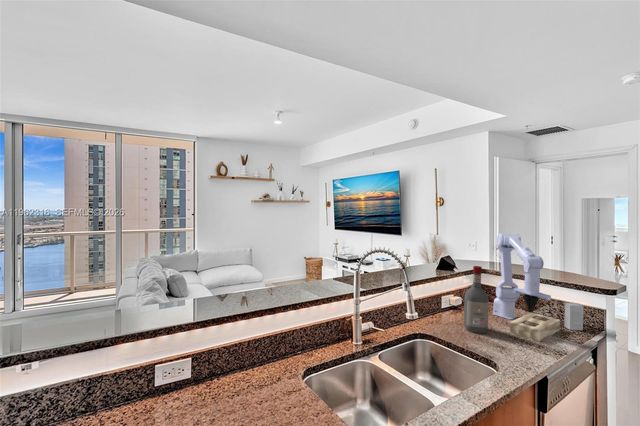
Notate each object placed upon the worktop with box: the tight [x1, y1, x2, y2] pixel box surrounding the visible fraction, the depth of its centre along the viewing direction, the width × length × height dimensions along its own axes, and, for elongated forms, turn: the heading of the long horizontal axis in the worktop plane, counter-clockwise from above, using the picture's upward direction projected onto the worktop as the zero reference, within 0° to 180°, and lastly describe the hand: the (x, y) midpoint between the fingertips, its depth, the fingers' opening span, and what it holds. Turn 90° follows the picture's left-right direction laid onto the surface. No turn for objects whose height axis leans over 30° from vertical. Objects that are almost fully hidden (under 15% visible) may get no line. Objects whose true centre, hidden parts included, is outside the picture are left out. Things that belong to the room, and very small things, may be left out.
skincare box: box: [563, 302, 584, 331], centre depth 152 cm, size 6×4×12 cm
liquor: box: [463, 265, 490, 334], centre depth 149 cm, size 9×9×30 cm
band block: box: [509, 312, 561, 343], centre depth 148 cm, size 12×24×5 cm, turn 126°
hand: (530, 311), depth 145 cm, fingers closed
